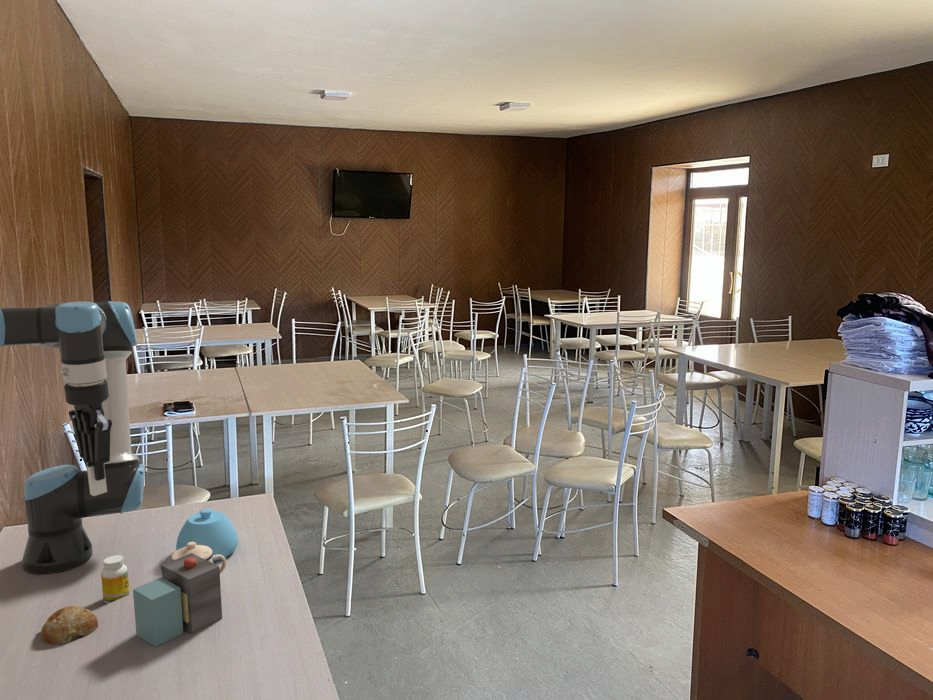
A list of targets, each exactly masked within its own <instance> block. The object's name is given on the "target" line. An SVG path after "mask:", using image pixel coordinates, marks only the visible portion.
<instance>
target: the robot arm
mask: <svg viewBox="0 0 933 700" xmlns="http://www.w3.org/2000/svg"><path fill="white" fill-rule="evenodd" d="M137 337H138V336H137V332H136V326H135V323H134V318H133V314H132V310H131V307H130V306H129V304H128V303H127V302H124V301H109V300H108V301H107V300H106V301H71V302H62V303H55V304H48V305H43V306H35V307H34V306H33V307H27V306H25V307H23V306H22V307H21V306H20V307H0V347H12V346H13V347H14V346H26V345H29V346H30V345H31V346H35V347H41V348H42V347H44V348H51V349H59V353H60V362H61V369H60V370H59V372H60V374H62V377H63V382H64V383H65V385H64V386H63V387H64V388H63V390H64V398H65V402H66V403H67V404H68V405H72V406H73V408H74V409H72V410H69V411H68V416H69V418H70V421H71V424H72V428H73V433H74V437H75V441H76V446H77V449H78V454H79V457H80V458H81V459H83V461H84V463H85V464H86V469H87V470H79V468H78V466H77V465H74V464H60V465H55V466H52V467H48V468H45V469H42V470H40V471H37V472H35V473H33V474H32V475H30V476H28V478H26V479H25V482H24V485H23V489H24V491H23V492H24V493H23V494H24V495H23V500H24V503H25V512H26V521H27V530H28V537H27V541H26V544H25V548H24V552H23V556H22V565H23V570H24V571H26V572H28V573H31V574H39V575H40V574H42V575H43V574H53V573H60V572H64V571H67V570H72V569H73V568H76V567H79V566H80V565H83V564H85V563H86V562H88V561H89V560H90V559H91V558H92V557H93V553H94V551H93V545H92V542H91V540H90V538H89V536H88V534H87V532H86V530H85V528H84V526H83V519H84V518H93V517H99V516H105V515H106V516H107V515H115V514H120V515H121V514H123V513H128V512H133V511H137V510H138V509H140V508H141V506H142V504H143V503H142V502H143V496H144V488H145V486H144V485H145V475H146V473H145V470H146V467H145V466H146V465H145V464H143V463H139V456H137V455H136V454H134V453H133V451H132V441H131V440H132V439H131V426H130V425H131V424H130V423H131V421H130V410H129V409H130V408H129V405H130V404H129V392H128V391H129V388H128V376H127V374H128V373H127V359H128V358H129V356H130V355H132V354H133V352H132V351H133V349H132V347H135V346H137V345H138V339H137Z"/></svg>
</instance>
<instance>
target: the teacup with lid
mask: <svg viewBox="0 0 933 700" xmlns="http://www.w3.org/2000/svg"><path fill="white" fill-rule="evenodd" d="M190 553H192V554H195V555H197V556H199V557H201V558H203V559H205V560H207V561H209V562H211V563H214V562H213V561H212V560H214V559H218V558H220V559H222V564H221V566H220V567H219V568H220V575H221V574H222V573H223V572H224V571H225V569H226V567H227V559H226V558H225V557H224V556H223V555H219V554H218V555H213V551H212V549H211V548H209V547H208V546H204V545H196V543H195V542H189V543H187V546H186V547H183V548H181V549H179V550H177V551H176V550H175V551H174V552H173V553H172V555H171V557H170V561H173V560H175V559H178V558H180V557H183V556H185V555H188V554H190Z"/></svg>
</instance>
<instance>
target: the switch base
mask: <svg viewBox="0 0 933 700" xmlns="http://www.w3.org/2000/svg"><path fill="white" fill-rule="evenodd" d="M160 567H161V578H163V579H165V580H167V581H169V582H171V583H173V584H174V585H176V586H178V587H180V590H181V605H182V620H183V630H185V631H187V632H189V633H190V634H195V633H196V632H199V631H200V630H202V629H205V628H206V627H209V626H210V625H212V624H214V623H216V622H217V623H218V622H219V621H220V620H223V608H222V605H223V604H222V589H221V574H220V568H221V567H220V566H219V565H218V564H216V563H215V562H213V563H211V562H209V561H207V560H205V559H203V558H201V557H199V556H197V555H195V554H192V553H190V554H188V555H185V556H183V557H180V558H178V559H175V560H173V561H171V560H170V561H168V562H165V563H163V564H161V566H160Z"/></svg>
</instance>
